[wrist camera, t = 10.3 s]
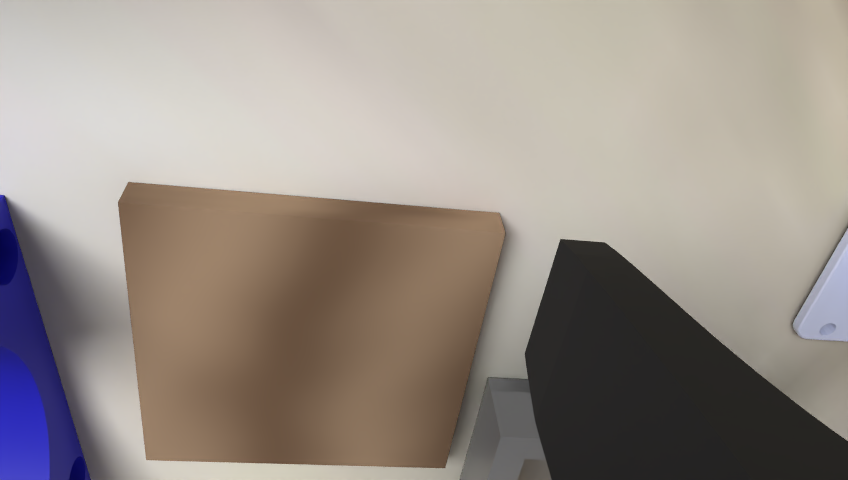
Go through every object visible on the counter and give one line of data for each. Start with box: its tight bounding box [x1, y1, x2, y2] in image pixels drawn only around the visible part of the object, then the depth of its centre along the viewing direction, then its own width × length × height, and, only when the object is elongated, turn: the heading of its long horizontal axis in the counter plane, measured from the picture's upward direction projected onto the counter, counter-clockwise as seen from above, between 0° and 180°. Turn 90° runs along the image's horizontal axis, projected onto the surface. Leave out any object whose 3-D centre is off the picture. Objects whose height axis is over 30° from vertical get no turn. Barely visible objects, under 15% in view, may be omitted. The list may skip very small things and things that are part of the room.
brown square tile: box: [118, 182, 505, 468], centre depth 22 cm, size 10×10×1 cm
